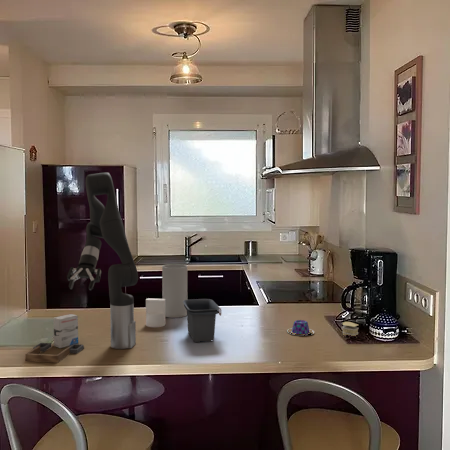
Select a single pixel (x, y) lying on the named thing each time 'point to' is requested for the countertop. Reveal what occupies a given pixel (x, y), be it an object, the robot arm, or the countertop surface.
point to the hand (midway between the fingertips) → (80, 289)
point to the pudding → (300, 327)
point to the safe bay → (45, 356)
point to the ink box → (65, 330)
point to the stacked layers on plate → (350, 329)
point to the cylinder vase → (174, 289)
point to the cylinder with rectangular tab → (155, 312)
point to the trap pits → (73, 348)
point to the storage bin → (201, 318)
